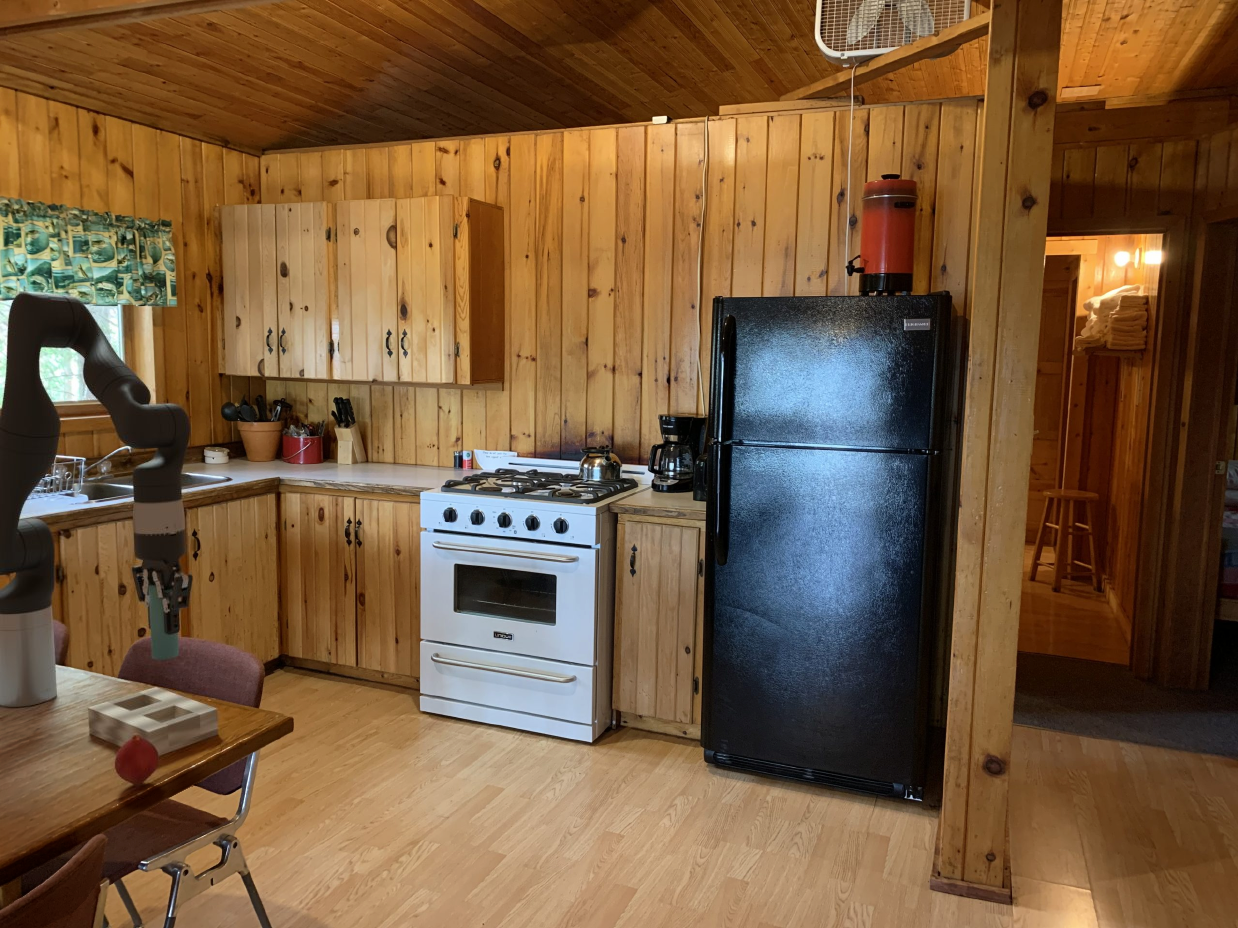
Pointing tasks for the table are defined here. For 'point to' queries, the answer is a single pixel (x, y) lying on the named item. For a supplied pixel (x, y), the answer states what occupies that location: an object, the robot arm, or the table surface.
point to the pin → (160, 629)
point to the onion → (136, 760)
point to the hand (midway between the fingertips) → (164, 630)
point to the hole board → (154, 720)
